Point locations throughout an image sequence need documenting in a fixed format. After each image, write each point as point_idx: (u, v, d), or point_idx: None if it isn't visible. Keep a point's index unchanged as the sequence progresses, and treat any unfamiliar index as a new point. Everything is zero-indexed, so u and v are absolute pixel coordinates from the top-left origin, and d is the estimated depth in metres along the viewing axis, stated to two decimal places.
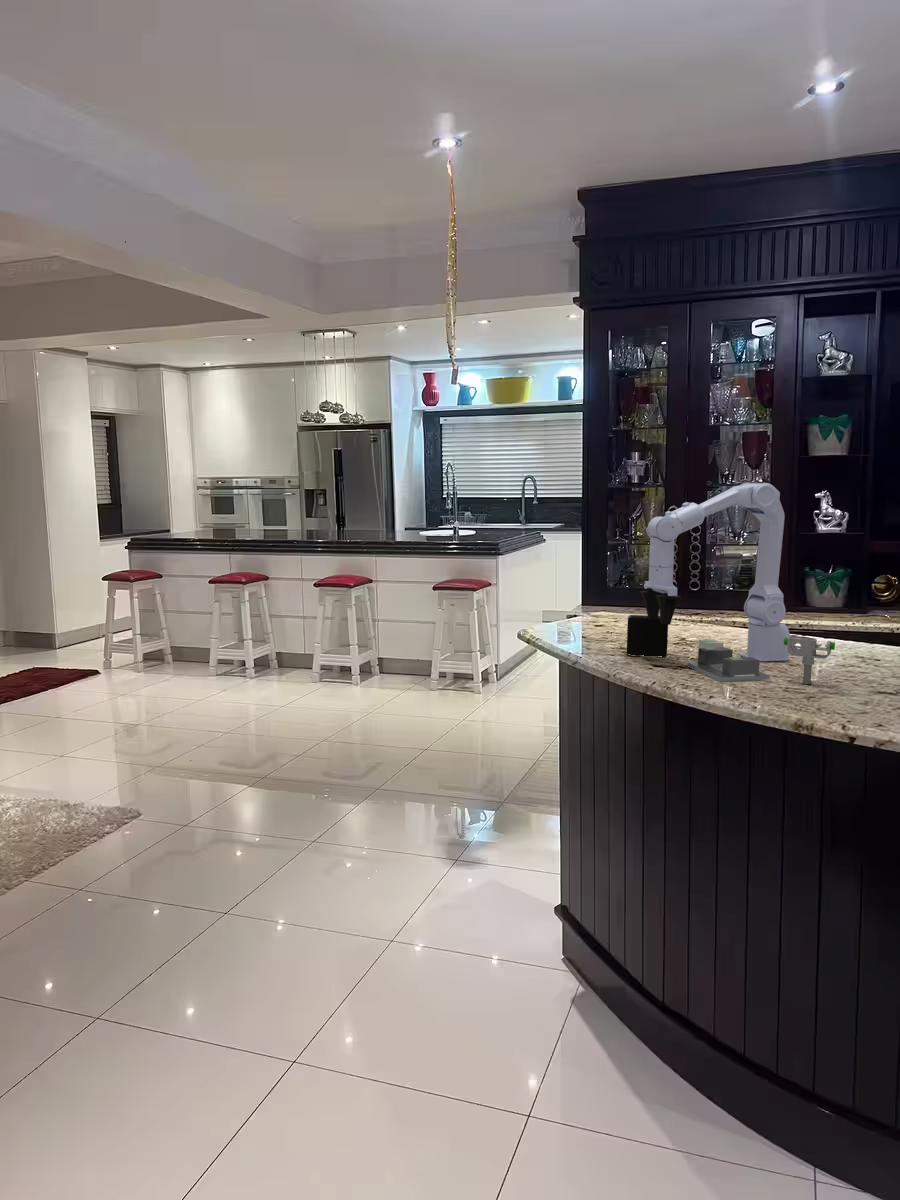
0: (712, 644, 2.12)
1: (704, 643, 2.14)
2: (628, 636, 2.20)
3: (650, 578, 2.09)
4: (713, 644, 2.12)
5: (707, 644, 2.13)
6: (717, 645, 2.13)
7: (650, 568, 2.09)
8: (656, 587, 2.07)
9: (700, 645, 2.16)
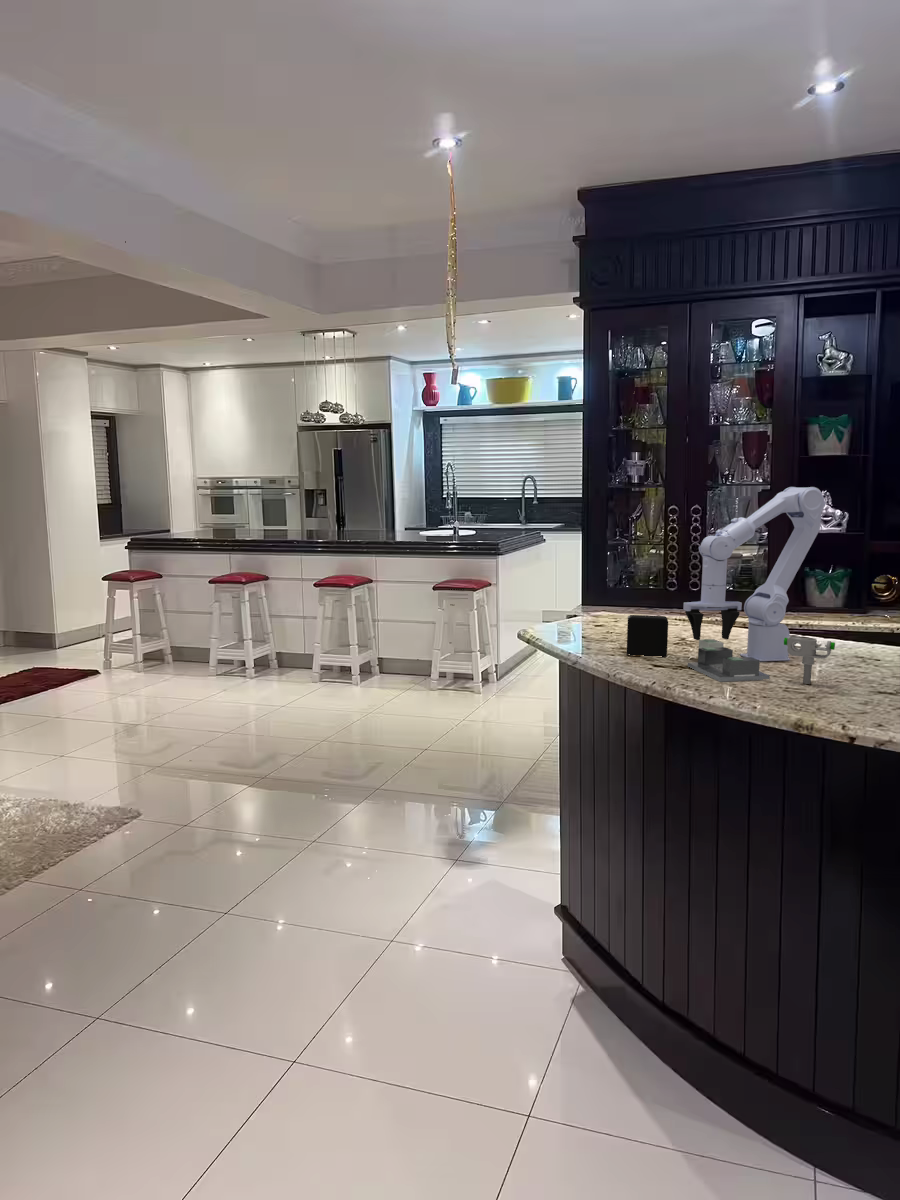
0: (712, 644, 2.12)
1: (704, 643, 2.14)
2: (628, 636, 2.20)
3: None
4: (713, 644, 2.12)
5: (707, 644, 2.13)
6: (717, 645, 2.13)
7: None
8: None
9: (700, 645, 2.16)
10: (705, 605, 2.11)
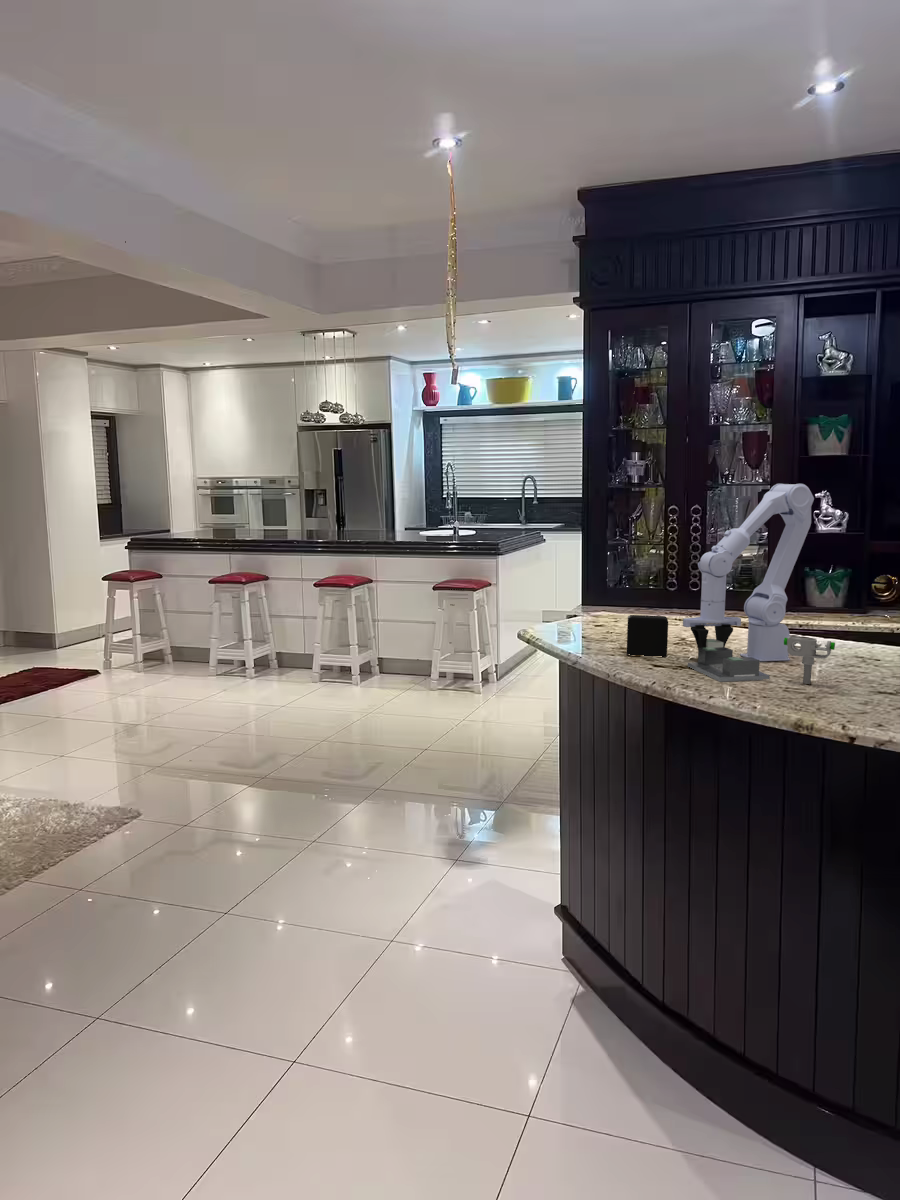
0: (712, 644, 2.12)
1: None
2: (628, 636, 2.20)
3: None
4: (713, 644, 2.12)
5: (707, 644, 2.13)
6: (717, 645, 2.13)
7: None
8: None
9: None
10: (704, 621, 2.11)
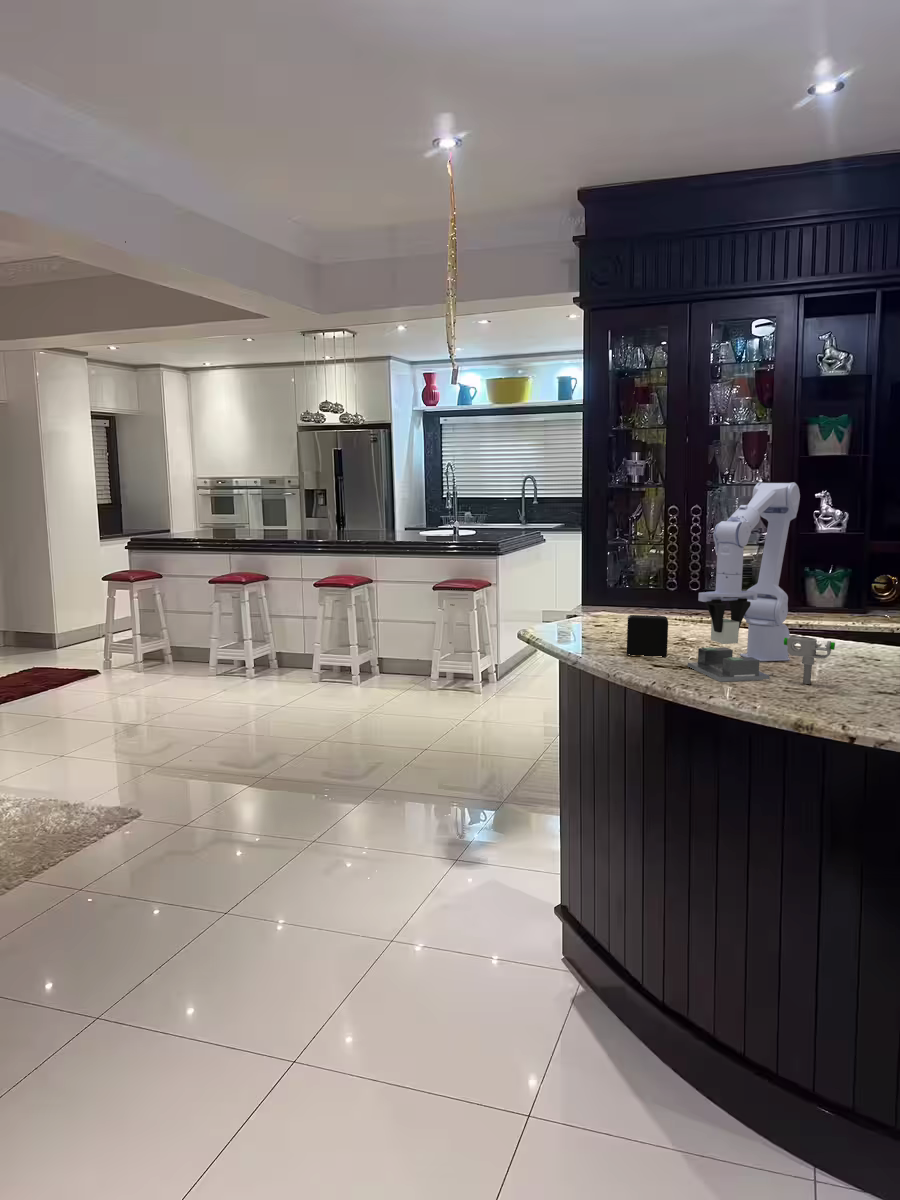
0: (728, 624, 1.99)
1: None
2: (628, 636, 2.20)
3: None
4: (729, 624, 2.00)
5: None
6: (733, 625, 2.00)
7: None
8: None
9: None
10: (722, 595, 1.98)
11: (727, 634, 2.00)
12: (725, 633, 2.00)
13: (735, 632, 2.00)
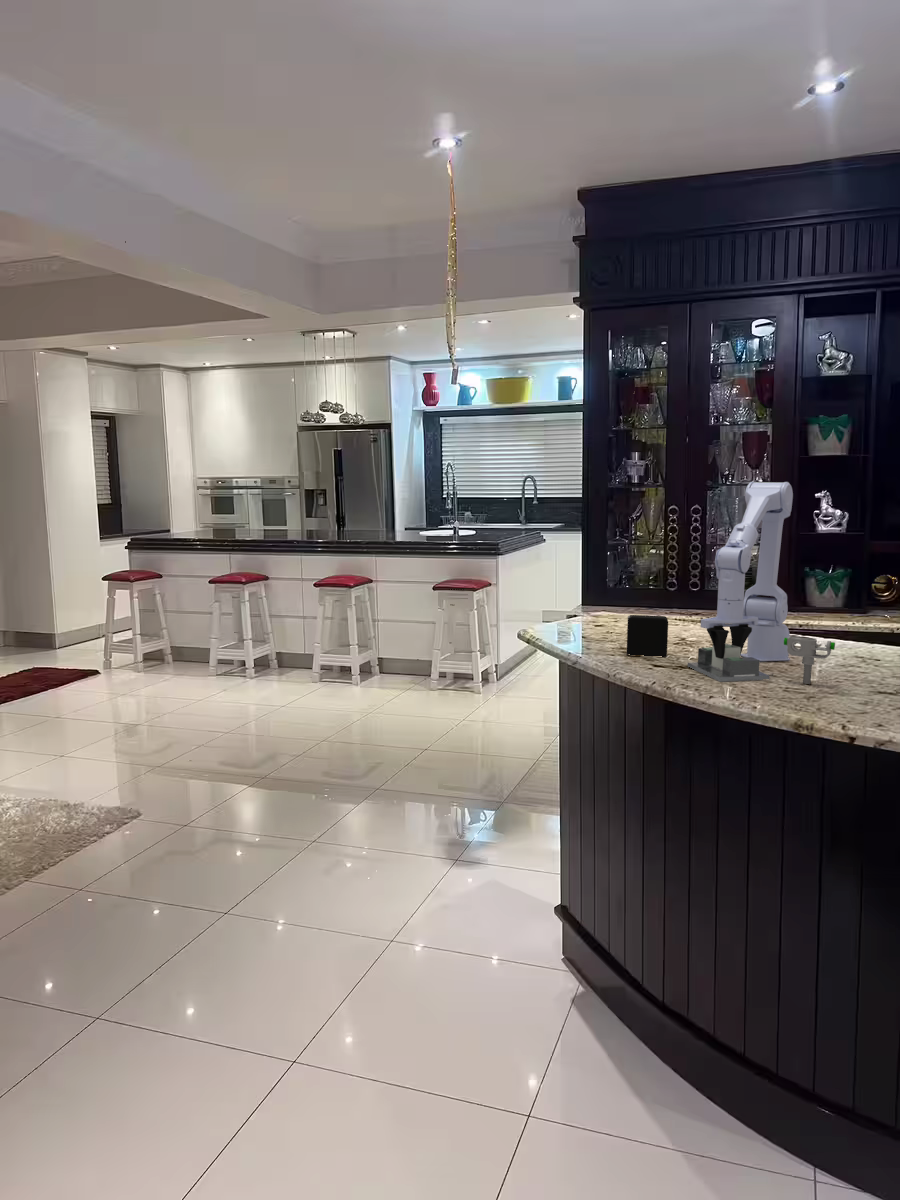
0: (730, 649, 1.98)
1: None
2: (628, 636, 2.20)
3: None
4: (731, 649, 1.99)
5: None
6: (734, 650, 1.99)
7: None
8: None
9: None
10: (724, 621, 1.97)
11: None
12: None
13: None
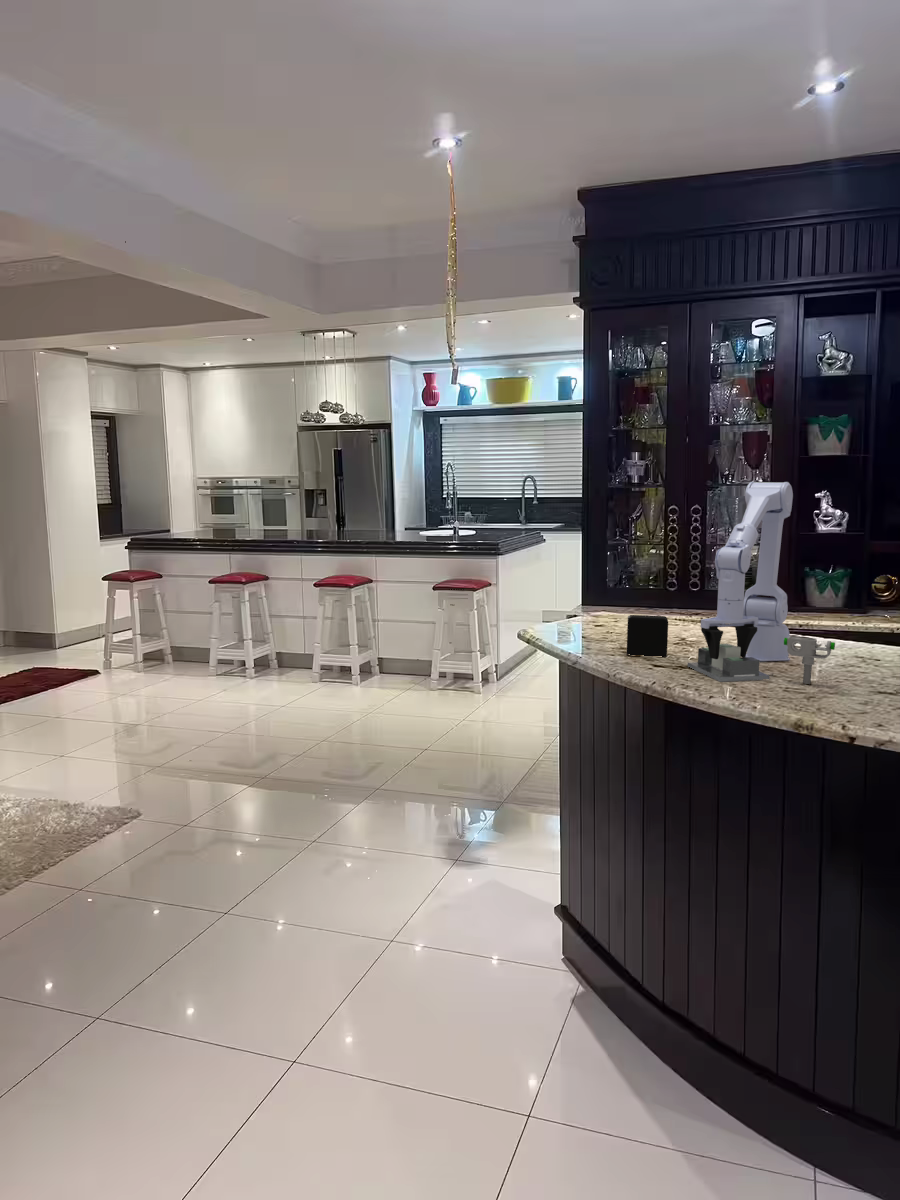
0: (730, 649, 1.98)
1: (720, 648, 2.00)
2: (628, 636, 2.20)
3: None
4: (731, 649, 1.99)
5: (724, 649, 1.99)
6: (734, 650, 1.99)
7: None
8: None
9: None
10: (724, 622, 1.97)
11: None
12: None
13: None
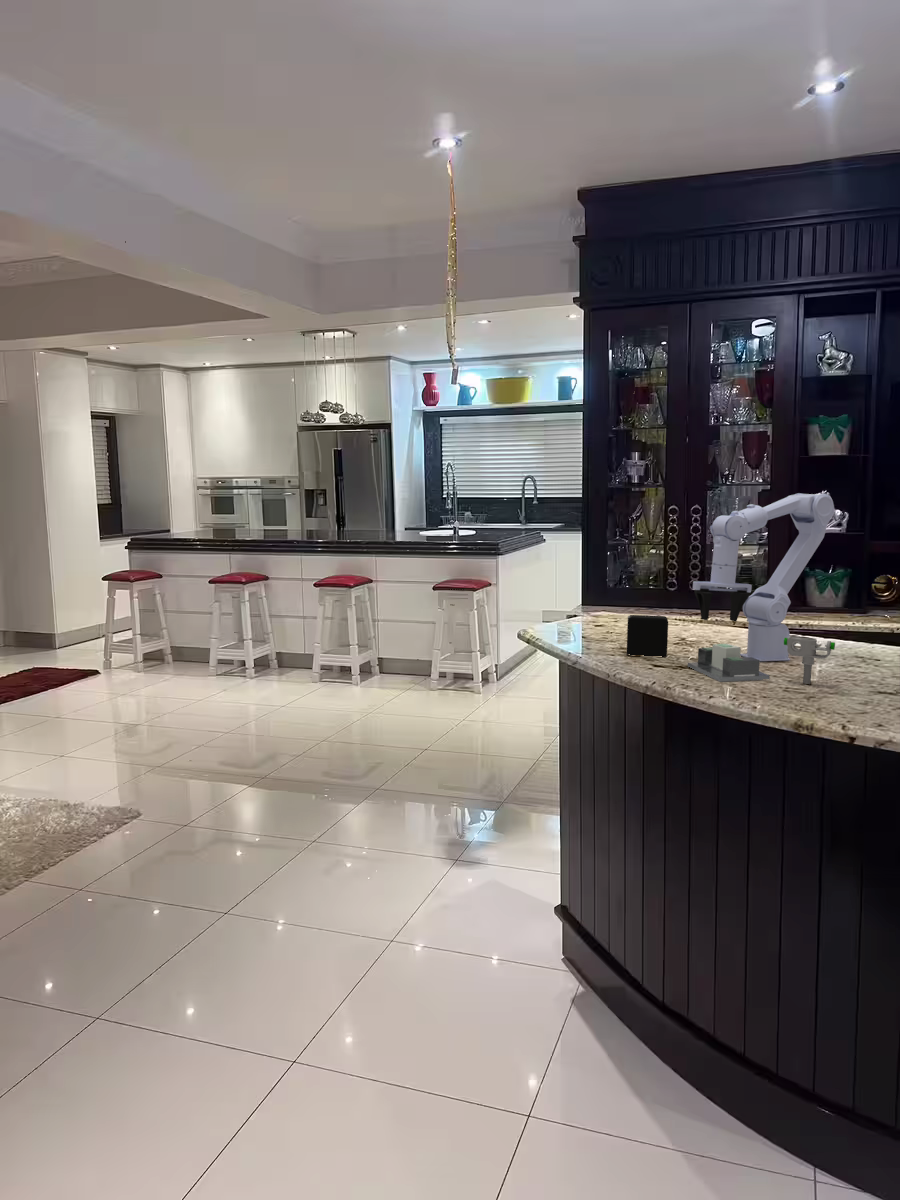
0: (730, 649, 1.98)
1: (720, 648, 2.00)
2: (628, 636, 2.20)
3: None
4: (731, 649, 1.99)
5: (724, 649, 1.99)
6: (734, 650, 1.99)
7: None
8: None
9: (714, 650, 2.02)
10: (715, 585, 2.08)
11: None
12: None
13: None
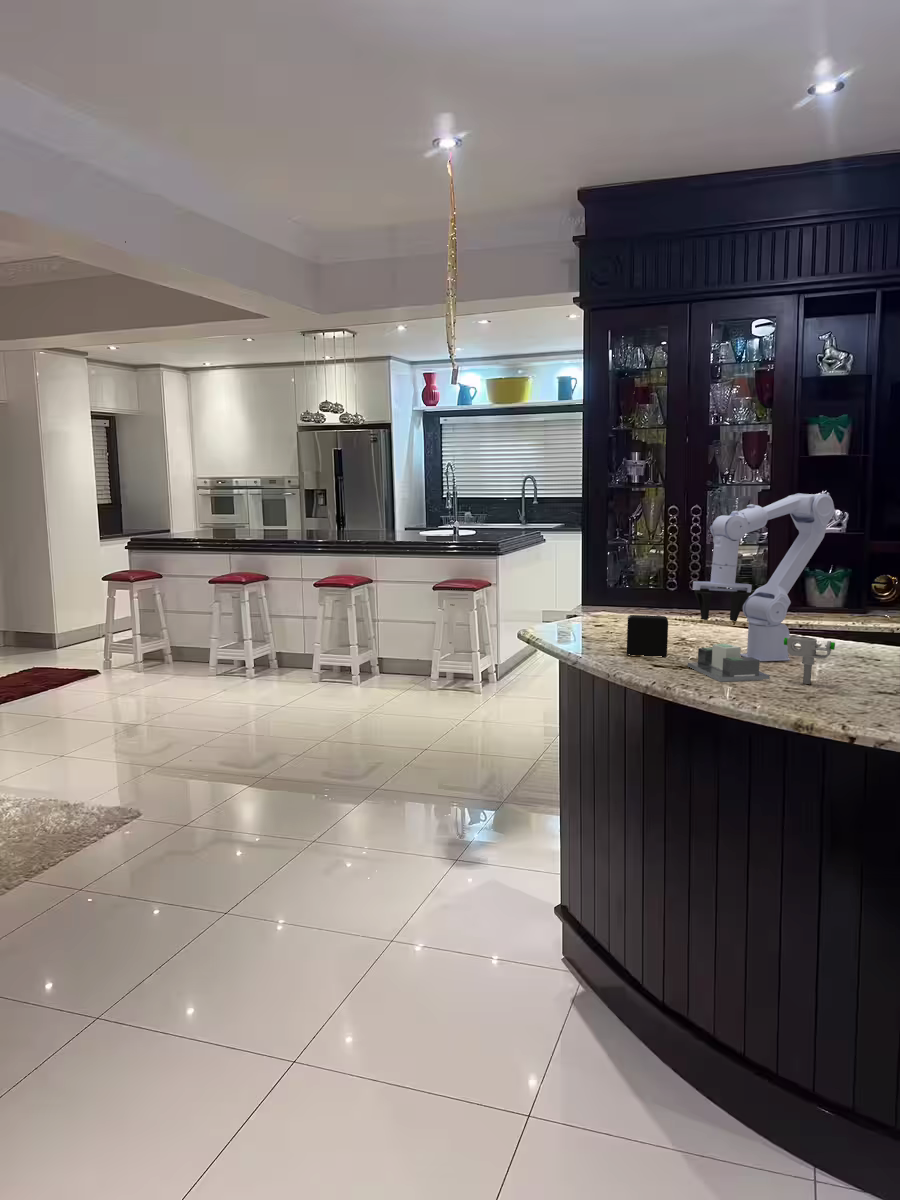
0: (730, 649, 1.98)
1: (720, 648, 2.00)
2: (628, 636, 2.20)
3: None
4: (731, 649, 1.99)
5: (724, 649, 1.99)
6: (734, 650, 1.99)
7: None
8: None
9: (714, 650, 2.02)
10: (715, 585, 2.08)
11: None
12: None
13: None
